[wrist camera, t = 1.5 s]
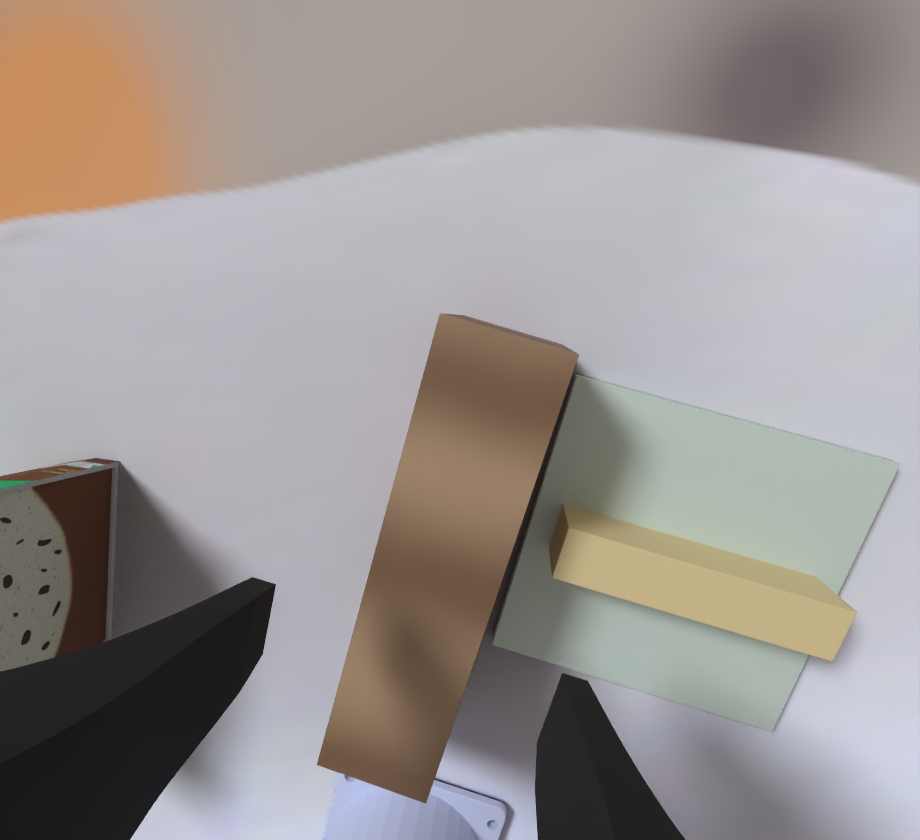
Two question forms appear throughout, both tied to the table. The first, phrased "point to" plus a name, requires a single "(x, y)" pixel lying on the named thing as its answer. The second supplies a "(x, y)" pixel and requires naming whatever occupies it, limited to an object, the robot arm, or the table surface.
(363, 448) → the table surface
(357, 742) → the walnut bar
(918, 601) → the table surface
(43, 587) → the food container
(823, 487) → the ridge stand
